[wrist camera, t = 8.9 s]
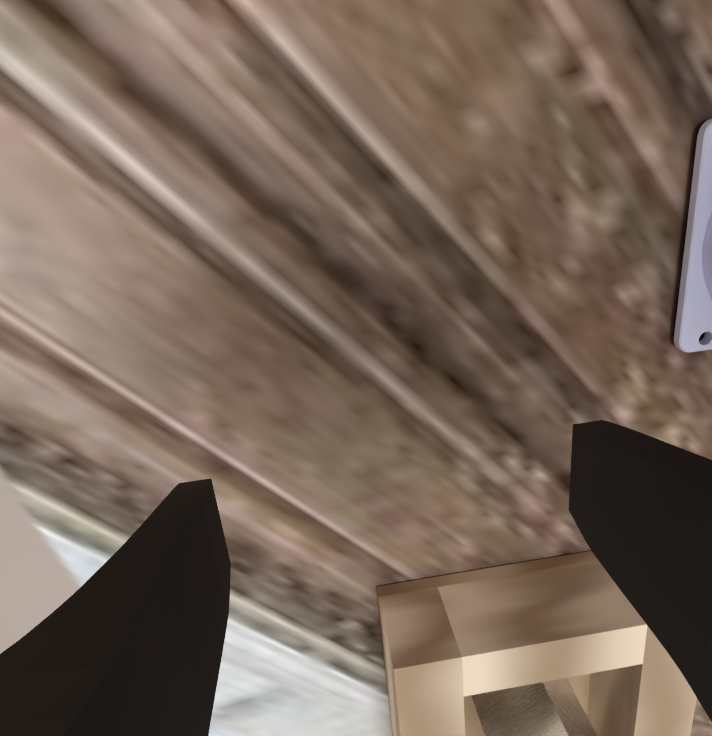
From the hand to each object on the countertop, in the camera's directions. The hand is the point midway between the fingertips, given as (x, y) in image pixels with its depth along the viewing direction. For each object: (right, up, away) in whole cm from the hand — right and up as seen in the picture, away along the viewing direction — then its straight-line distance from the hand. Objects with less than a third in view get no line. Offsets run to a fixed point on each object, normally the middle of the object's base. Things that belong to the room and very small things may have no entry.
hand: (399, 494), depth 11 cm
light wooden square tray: (+6, -11, +16) cm, 20 cm away
